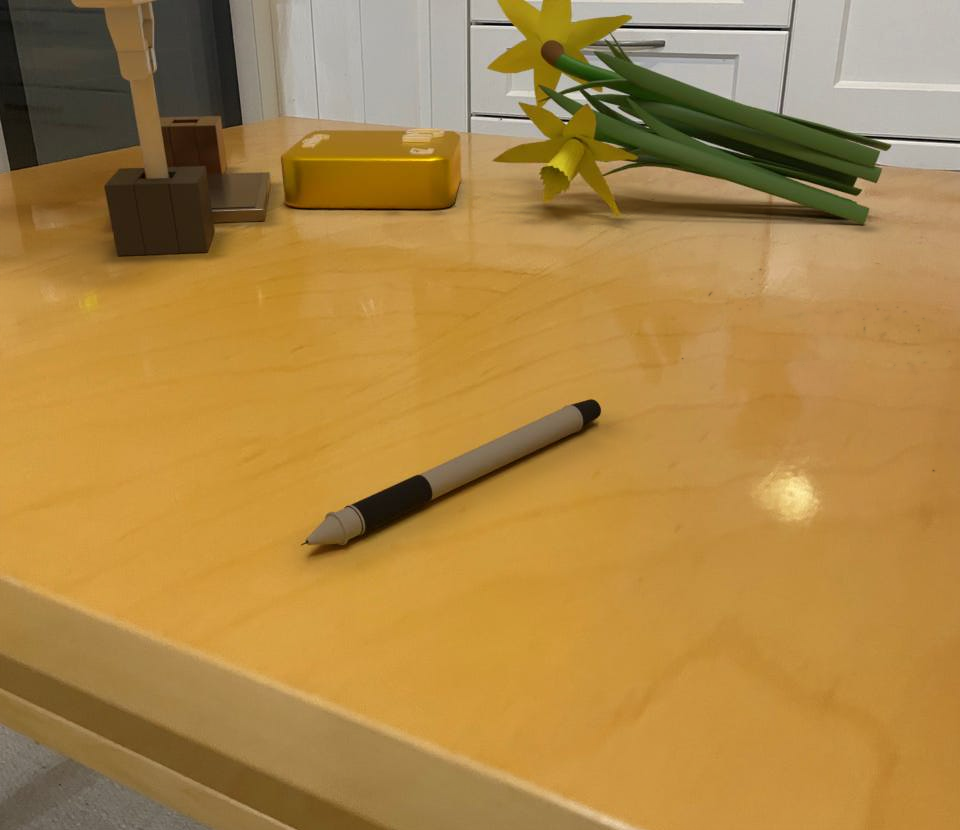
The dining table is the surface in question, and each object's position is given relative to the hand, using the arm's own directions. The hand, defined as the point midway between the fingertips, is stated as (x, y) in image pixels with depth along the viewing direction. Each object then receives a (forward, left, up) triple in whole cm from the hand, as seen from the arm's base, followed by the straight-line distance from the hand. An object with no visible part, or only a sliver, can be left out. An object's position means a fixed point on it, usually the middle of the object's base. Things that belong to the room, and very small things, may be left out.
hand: (140, 77), depth 66 cm
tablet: (+1, +14, -12) cm, 18 cm away
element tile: (+17, +16, -12) cm, 26 cm away
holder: (0, 0, -12) cm, 12 cm away
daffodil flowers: (+42, +5, -12) cm, 44 cm away
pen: (+17, -41, -12) cm, 46 cm away
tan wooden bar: (0, 0, -12) cm, 12 cm away
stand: (-1, +28, -12) cm, 30 cm away
